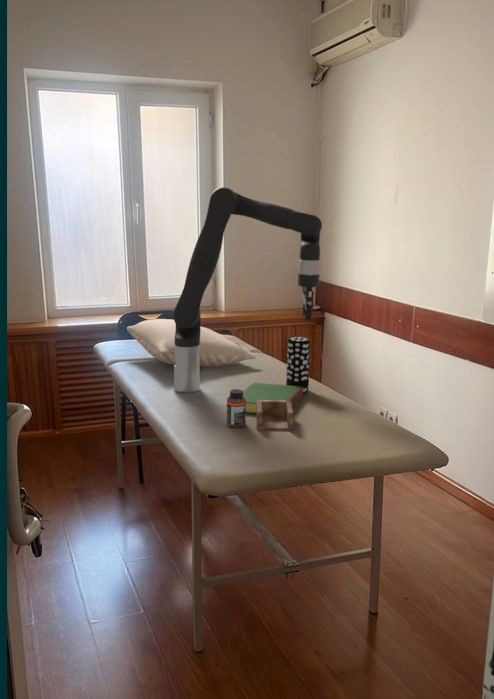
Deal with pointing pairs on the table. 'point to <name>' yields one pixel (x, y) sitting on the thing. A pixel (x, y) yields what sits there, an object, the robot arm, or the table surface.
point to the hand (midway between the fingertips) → (306, 317)
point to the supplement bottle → (236, 409)
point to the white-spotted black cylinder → (298, 362)
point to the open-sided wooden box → (274, 415)
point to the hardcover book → (270, 394)
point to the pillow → (162, 344)
